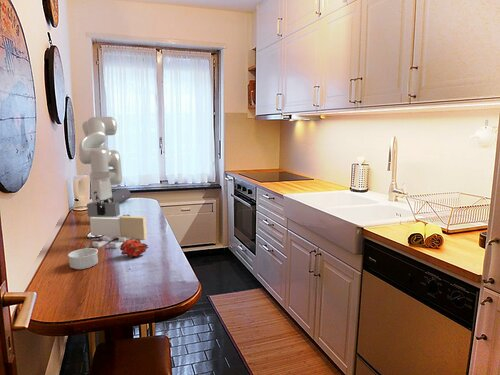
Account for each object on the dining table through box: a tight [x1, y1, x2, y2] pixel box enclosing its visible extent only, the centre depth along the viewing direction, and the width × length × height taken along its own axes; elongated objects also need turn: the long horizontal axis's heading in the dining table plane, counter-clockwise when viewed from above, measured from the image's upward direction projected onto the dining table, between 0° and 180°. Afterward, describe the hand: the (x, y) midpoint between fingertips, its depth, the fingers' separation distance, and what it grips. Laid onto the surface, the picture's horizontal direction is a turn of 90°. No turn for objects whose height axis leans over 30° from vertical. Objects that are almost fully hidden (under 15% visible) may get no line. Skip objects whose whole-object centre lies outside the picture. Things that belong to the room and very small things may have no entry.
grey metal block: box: [86, 201, 121, 218], centre depth 176 cm, size 4×14×6 cm, turn 83°
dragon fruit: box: [119, 239, 149, 259], centre depth 162 cm, size 8×8×12 cm
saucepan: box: [67, 241, 99, 270], centre depth 157 cm, size 12×20×6 cm, turn 15°
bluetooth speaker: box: [111, 188, 132, 205], centre depth 272 cm, size 23×9×10 cm, turn 167°
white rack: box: [89, 215, 148, 249], centre depth 182 cm, size 18×30×11 cm, turn 78°
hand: (104, 213), depth 176 cm, fingers closed on grey metal block, 4 cm apart
